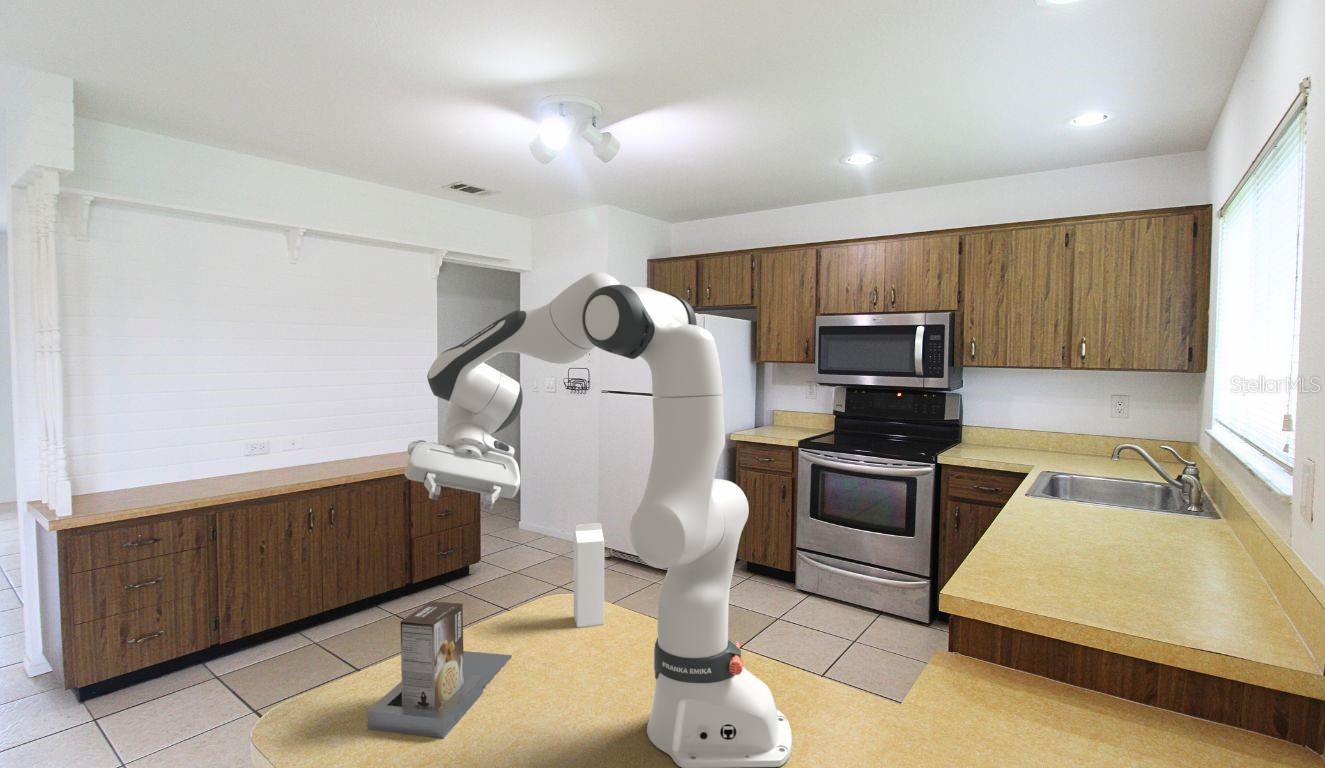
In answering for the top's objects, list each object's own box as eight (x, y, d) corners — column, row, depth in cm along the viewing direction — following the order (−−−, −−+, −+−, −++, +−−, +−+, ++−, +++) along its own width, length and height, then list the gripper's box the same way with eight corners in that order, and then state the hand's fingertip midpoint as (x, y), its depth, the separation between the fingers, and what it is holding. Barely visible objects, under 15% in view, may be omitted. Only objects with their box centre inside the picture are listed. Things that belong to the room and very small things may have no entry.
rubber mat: (511, 657, 123) (511, 655, 123) (484, 688, 111) (484, 686, 111) (454, 652, 125) (454, 650, 125) (422, 682, 113) (422, 680, 113)
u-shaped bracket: (483, 692, 110) (483, 676, 110) (443, 738, 96) (443, 719, 96) (415, 686, 112) (414, 669, 112) (367, 729, 99) (367, 711, 98)
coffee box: (431, 689, 111) (431, 599, 110) (465, 693, 110) (464, 602, 109) (400, 717, 102) (399, 620, 101) (435, 722, 101) (435, 623, 100)
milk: (604, 625, 139) (604, 526, 138) (576, 628, 137) (577, 528, 136) (599, 614, 144) (599, 519, 144) (573, 616, 143) (573, 521, 142)
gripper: (414, 425, 115) (404, 476, 103) (522, 449, 123) (524, 499, 112) (405, 451, 117) (395, 503, 106) (512, 473, 125) (512, 523, 114)
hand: (462, 501), depth 109 cm, fingers open, 8 cm apart
